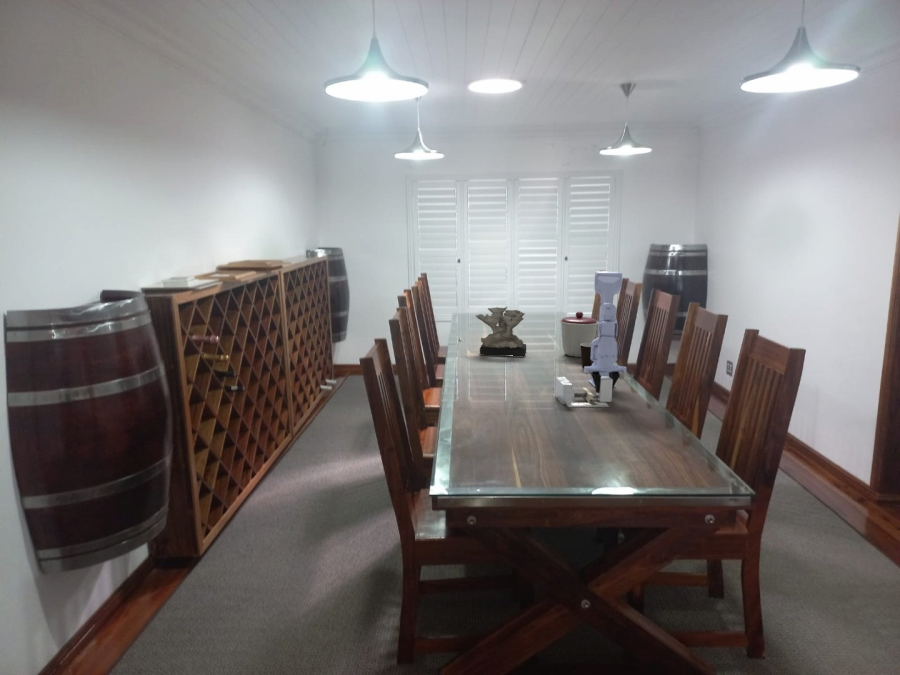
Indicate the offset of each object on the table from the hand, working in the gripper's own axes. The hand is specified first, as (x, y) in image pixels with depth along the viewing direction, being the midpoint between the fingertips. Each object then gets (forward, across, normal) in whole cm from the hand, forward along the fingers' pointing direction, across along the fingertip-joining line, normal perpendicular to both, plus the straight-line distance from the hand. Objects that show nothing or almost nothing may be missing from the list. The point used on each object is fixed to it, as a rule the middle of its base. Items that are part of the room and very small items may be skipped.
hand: (603, 392), depth 209 cm
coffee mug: (+3, +11, +50) cm, 51 cm away
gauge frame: (+3, -9, -2) cm, 9 cm away
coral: (+3, -26, +83) cm, 87 cm away
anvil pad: (+2, -8, -2) cm, 9 cm away
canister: (+3, +10, +75) cm, 76 cm away
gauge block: (+3, -1, 0) cm, 3 cm away
